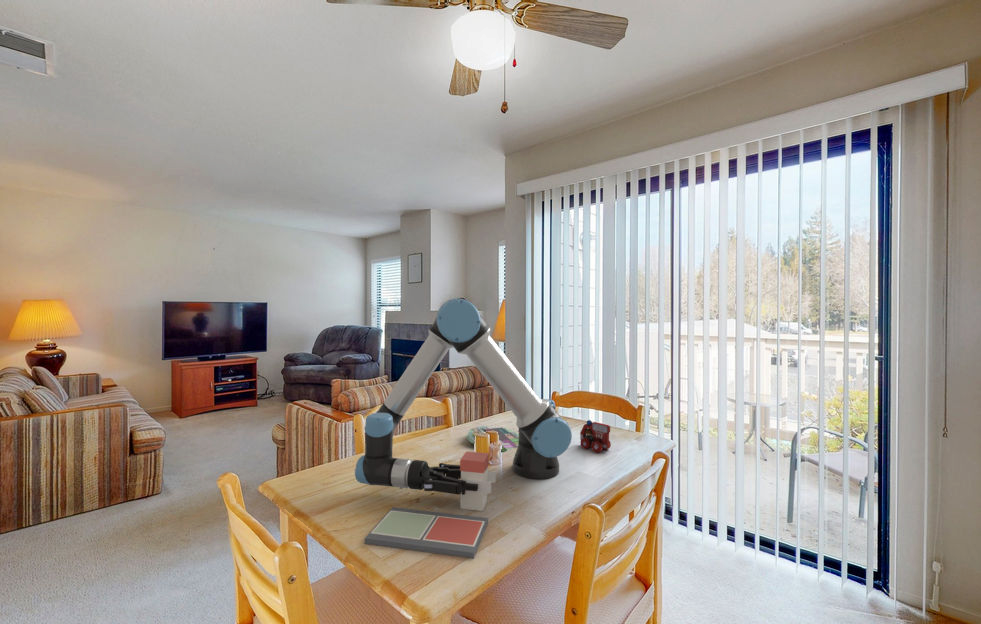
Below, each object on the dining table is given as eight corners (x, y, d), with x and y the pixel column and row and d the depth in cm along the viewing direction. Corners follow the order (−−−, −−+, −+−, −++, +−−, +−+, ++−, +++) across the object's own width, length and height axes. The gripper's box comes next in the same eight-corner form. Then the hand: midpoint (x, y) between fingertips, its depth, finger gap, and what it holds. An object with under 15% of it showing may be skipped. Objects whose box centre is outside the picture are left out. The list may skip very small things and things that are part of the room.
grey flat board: (487, 522, 105) (488, 517, 104) (473, 558, 90) (473, 551, 90) (392, 511, 109) (392, 506, 109) (364, 543, 95) (364, 537, 95)
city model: (496, 464, 149) (498, 447, 148) (450, 441, 164) (452, 426, 163) (537, 448, 168) (539, 433, 167) (492, 428, 183) (494, 415, 182)
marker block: (488, 500, 116) (489, 453, 116) (483, 511, 110) (484, 461, 110) (465, 497, 118) (466, 451, 117) (459, 508, 111) (460, 459, 111)
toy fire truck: (586, 442, 167) (587, 416, 167) (614, 451, 158) (615, 423, 158) (575, 446, 163) (576, 419, 163) (603, 455, 153) (604, 426, 153)
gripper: (423, 474, 127) (499, 481, 122) (396, 503, 108) (485, 513, 104) (423, 449, 127) (499, 455, 122) (397, 473, 108) (486, 482, 103)
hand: (493, 482), depth 113 cm, fingers closed on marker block, 6 cm apart
